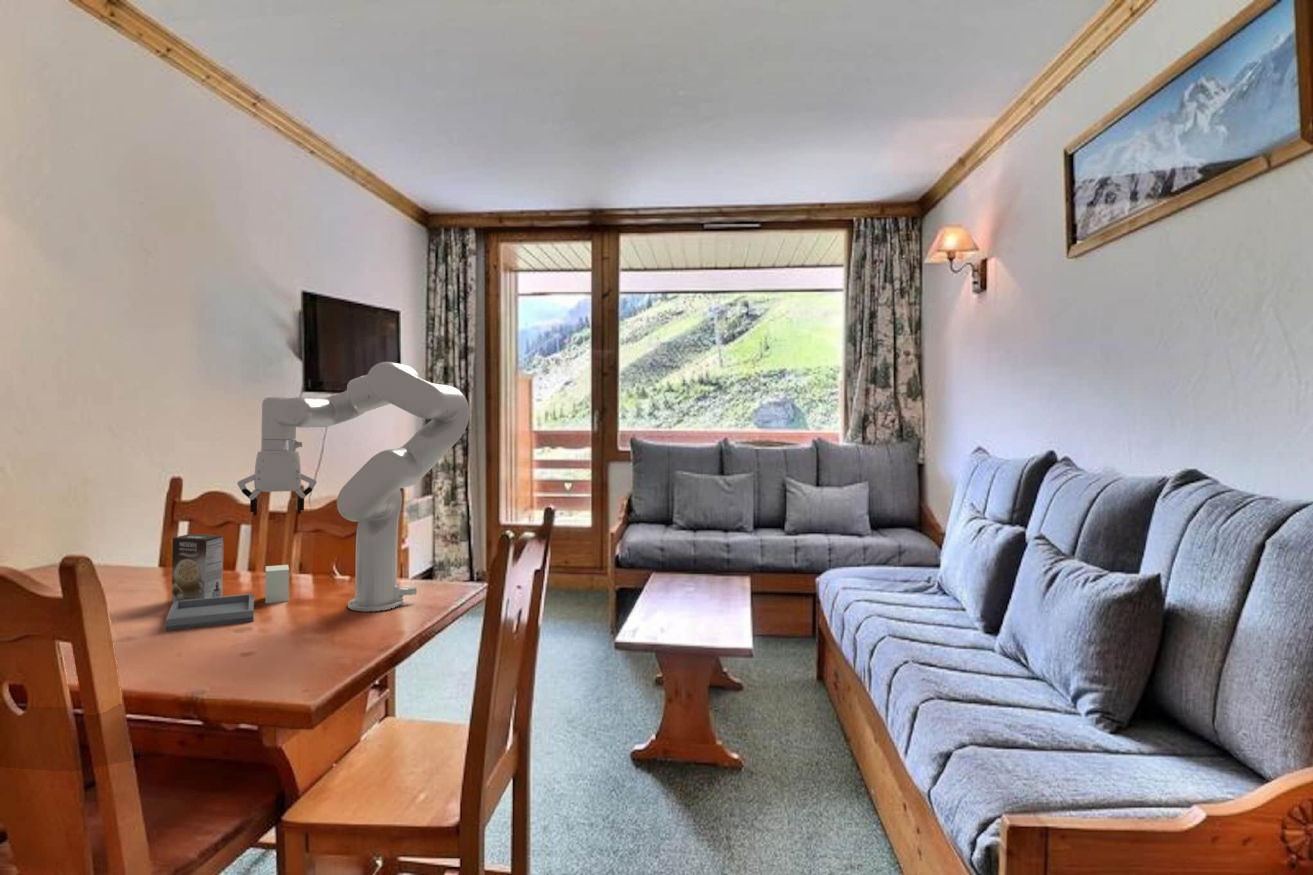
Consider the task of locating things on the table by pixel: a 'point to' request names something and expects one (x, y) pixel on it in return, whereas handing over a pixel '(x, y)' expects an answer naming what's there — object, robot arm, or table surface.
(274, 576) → the sage block
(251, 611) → the tray
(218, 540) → the coffee box
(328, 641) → the table surface
